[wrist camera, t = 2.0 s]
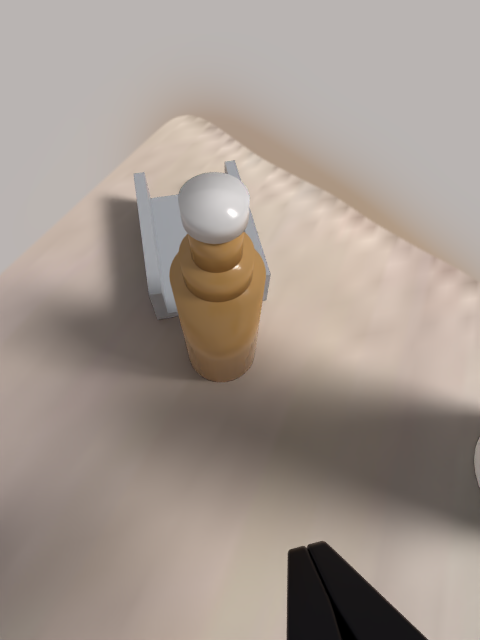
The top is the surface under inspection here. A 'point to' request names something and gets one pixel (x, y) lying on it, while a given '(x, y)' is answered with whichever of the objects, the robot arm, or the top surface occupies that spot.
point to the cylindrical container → (477, 461)
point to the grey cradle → (172, 241)
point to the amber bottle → (217, 277)
